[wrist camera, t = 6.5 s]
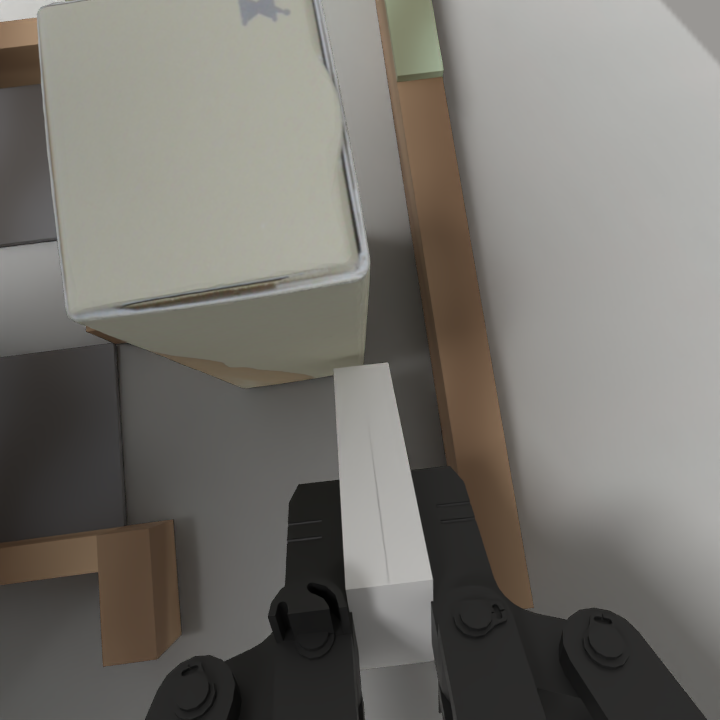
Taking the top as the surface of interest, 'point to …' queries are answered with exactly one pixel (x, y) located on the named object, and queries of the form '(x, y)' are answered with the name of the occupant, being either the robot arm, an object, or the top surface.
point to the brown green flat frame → (99, 362)
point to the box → (206, 183)
